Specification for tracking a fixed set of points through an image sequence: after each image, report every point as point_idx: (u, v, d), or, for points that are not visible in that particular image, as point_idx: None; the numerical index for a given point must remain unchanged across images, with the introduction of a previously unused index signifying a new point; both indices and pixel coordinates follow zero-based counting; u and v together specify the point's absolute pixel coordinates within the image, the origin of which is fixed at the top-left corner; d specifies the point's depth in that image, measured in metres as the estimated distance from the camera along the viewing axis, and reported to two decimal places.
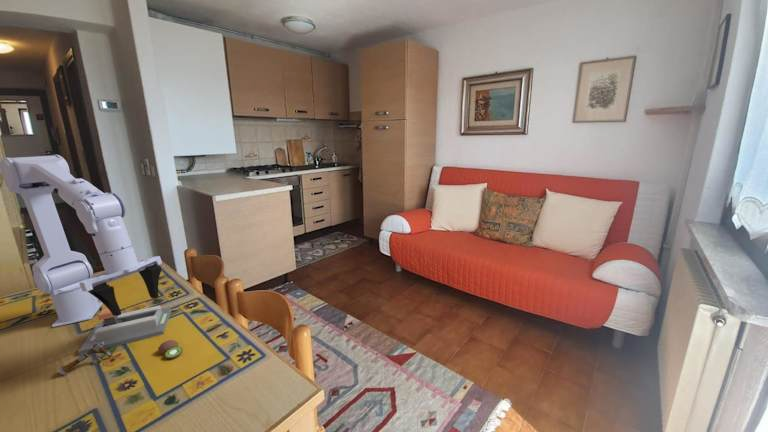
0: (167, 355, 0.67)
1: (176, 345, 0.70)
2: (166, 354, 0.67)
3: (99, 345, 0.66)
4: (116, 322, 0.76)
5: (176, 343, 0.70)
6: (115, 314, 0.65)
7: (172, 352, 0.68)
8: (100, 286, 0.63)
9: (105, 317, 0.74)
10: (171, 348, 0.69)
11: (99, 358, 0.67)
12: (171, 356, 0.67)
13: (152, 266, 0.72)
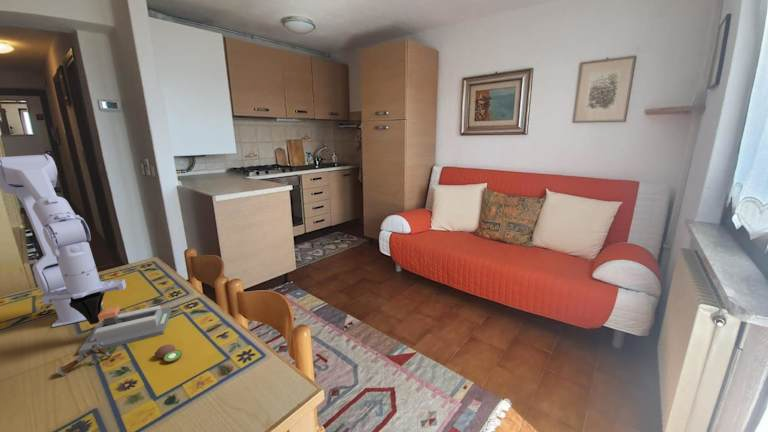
0: (166, 359, 0.66)
1: (173, 349, 0.69)
2: (165, 358, 0.66)
3: (98, 346, 0.66)
4: (116, 322, 0.76)
5: (174, 347, 0.69)
6: None
7: (171, 356, 0.67)
8: (77, 298, 0.71)
9: (105, 317, 0.74)
10: (169, 352, 0.68)
11: (98, 359, 0.67)
12: (171, 360, 0.66)
13: (94, 294, 0.72)
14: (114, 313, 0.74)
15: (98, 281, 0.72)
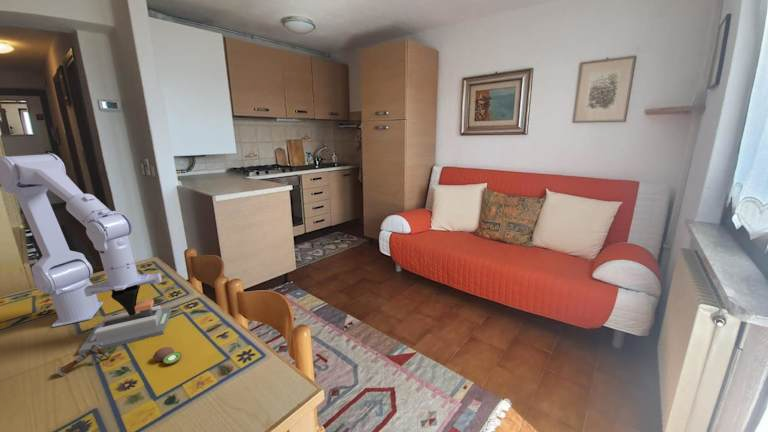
0: (166, 362, 0.65)
1: (172, 351, 0.68)
2: (164, 361, 0.65)
3: (97, 346, 0.66)
4: (151, 314, 0.79)
5: (172, 349, 0.68)
6: None
7: (171, 358, 0.66)
8: (118, 290, 0.74)
9: (141, 309, 0.77)
10: (168, 354, 0.67)
11: (97, 359, 0.67)
12: (171, 362, 0.65)
13: (131, 287, 0.75)
14: (149, 305, 0.77)
15: (136, 274, 0.75)
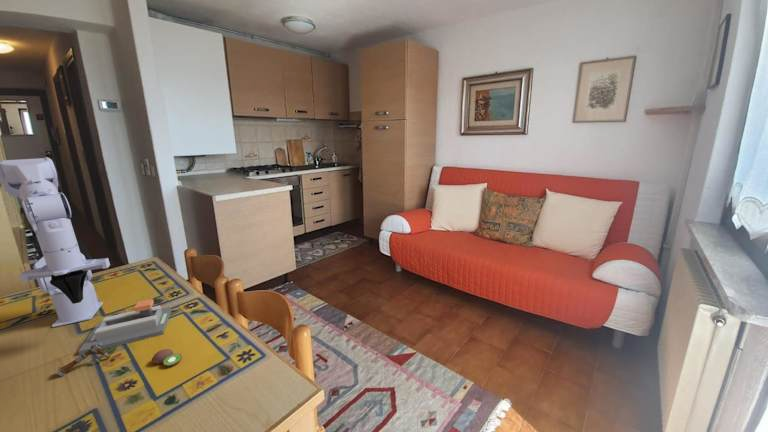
0: (166, 364, 0.65)
1: (172, 353, 0.67)
2: (165, 363, 0.65)
3: (97, 346, 0.66)
4: (150, 314, 0.79)
5: (171, 351, 0.68)
6: None
7: (171, 360, 0.66)
8: (58, 276, 0.69)
9: (141, 309, 0.76)
10: (167, 356, 0.66)
11: (97, 359, 0.67)
12: (171, 363, 0.65)
13: (76, 272, 0.70)
14: (149, 305, 0.77)
15: (80, 259, 0.71)
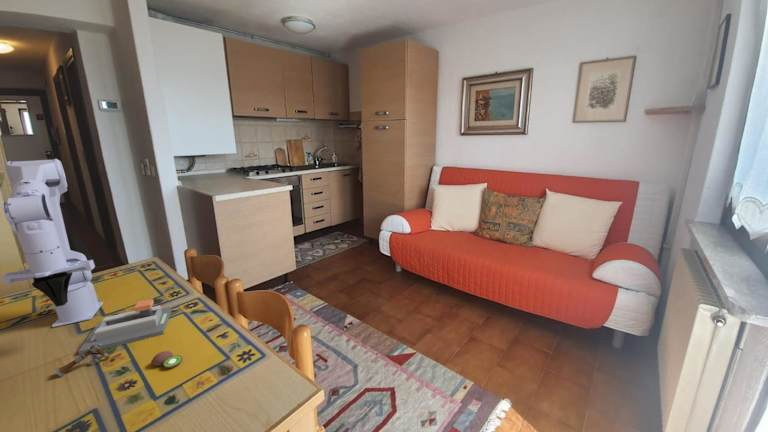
0: (167, 365, 0.64)
1: (171, 355, 0.67)
2: (165, 364, 0.64)
3: (96, 346, 0.66)
4: (150, 314, 0.79)
5: (171, 353, 0.67)
6: None
7: (171, 361, 0.65)
8: (41, 278, 0.68)
9: (141, 309, 0.76)
10: (167, 358, 0.66)
11: (96, 359, 0.66)
12: (172, 365, 0.65)
13: (59, 274, 0.69)
14: (149, 305, 0.77)
15: (64, 261, 0.69)
